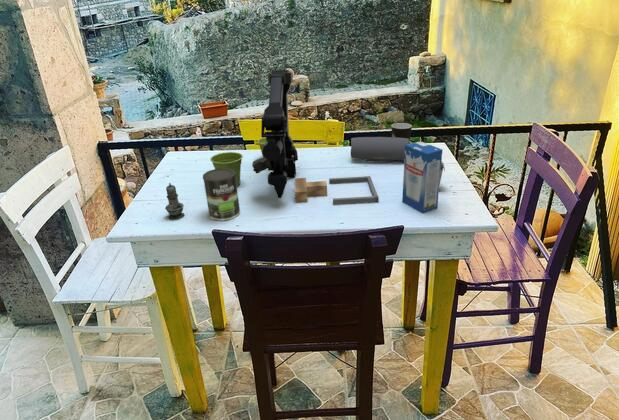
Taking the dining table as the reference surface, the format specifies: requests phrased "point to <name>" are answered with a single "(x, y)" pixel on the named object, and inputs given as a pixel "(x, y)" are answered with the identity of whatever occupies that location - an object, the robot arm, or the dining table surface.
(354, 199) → the fence pocket
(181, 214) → the grey tall tiered piece
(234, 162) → the plant pot
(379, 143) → the bluetooth speaker
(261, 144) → the plant pot
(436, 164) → the milk carton
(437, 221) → the dining table surface
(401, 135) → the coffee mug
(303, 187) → the t block
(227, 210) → the coffee can
